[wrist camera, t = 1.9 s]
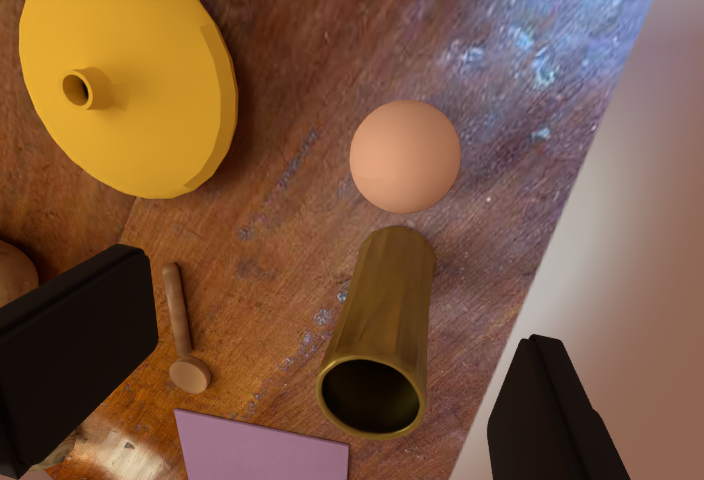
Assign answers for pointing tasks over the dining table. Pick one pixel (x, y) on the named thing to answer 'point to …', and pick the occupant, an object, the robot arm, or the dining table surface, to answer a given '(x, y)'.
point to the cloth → (255, 451)
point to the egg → (405, 156)
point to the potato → (15, 273)
